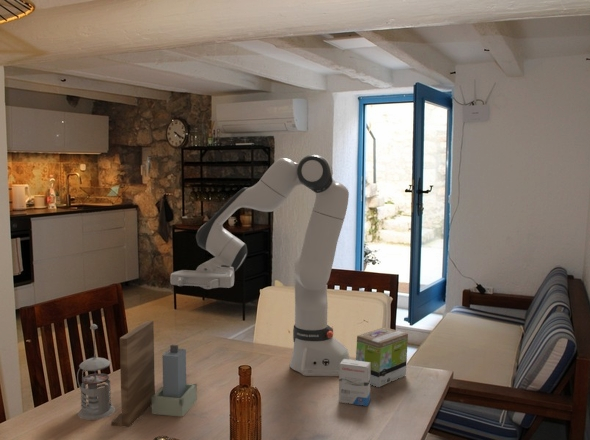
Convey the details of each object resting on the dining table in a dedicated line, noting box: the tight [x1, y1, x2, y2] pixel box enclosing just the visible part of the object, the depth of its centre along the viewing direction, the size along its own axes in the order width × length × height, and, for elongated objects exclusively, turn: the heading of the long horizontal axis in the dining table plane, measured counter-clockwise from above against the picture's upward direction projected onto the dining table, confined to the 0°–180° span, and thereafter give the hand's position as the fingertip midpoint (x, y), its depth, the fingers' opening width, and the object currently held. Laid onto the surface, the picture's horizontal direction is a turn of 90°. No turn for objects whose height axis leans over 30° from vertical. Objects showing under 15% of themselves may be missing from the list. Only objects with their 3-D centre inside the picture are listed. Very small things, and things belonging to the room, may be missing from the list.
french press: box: [76, 323, 115, 421], centre depth 155 cm, size 10×12×25 cm
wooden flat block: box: [111, 320, 156, 428], centre depth 154 cm, size 5×16×24 cm, turn 170°
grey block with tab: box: [161, 344, 187, 398], centre depth 158 cm, size 4×6×15 cm
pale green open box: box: [151, 382, 198, 418], centre depth 159 cm, size 9×11×5 cm
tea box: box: [355, 326, 409, 388], centre depth 181 cm, size 15×10×15 cm, turn 135°
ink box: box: [338, 358, 371, 407], centre depth 163 cm, size 8×5×12 cm, turn 71°
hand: (194, 284), depth 171 cm, fingers open, 8 cm apart
